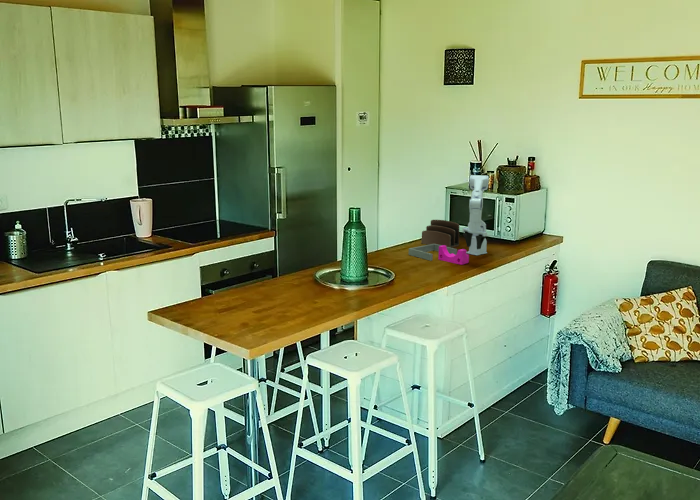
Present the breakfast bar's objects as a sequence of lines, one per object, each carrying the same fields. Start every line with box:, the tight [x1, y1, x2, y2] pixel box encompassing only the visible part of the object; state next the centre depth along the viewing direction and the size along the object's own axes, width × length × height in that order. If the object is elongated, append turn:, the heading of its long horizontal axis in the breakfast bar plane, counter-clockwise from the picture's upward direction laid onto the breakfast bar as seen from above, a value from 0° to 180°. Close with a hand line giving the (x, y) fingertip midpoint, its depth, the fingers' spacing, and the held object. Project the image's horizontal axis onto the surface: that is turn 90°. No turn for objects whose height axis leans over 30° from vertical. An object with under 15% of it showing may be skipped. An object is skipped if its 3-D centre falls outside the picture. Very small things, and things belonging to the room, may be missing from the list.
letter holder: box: [421, 219, 460, 249], centre depth 395 cm, size 10×20×14 cm, turn 50°
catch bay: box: [408, 244, 458, 262], centre depth 371 cm, size 20×17×4 cm
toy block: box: [438, 245, 470, 266], centre depth 358 cm, size 15×6×8 cm, turn 45°
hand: (473, 247), depth 348 cm, fingers open, 6 cm apart
